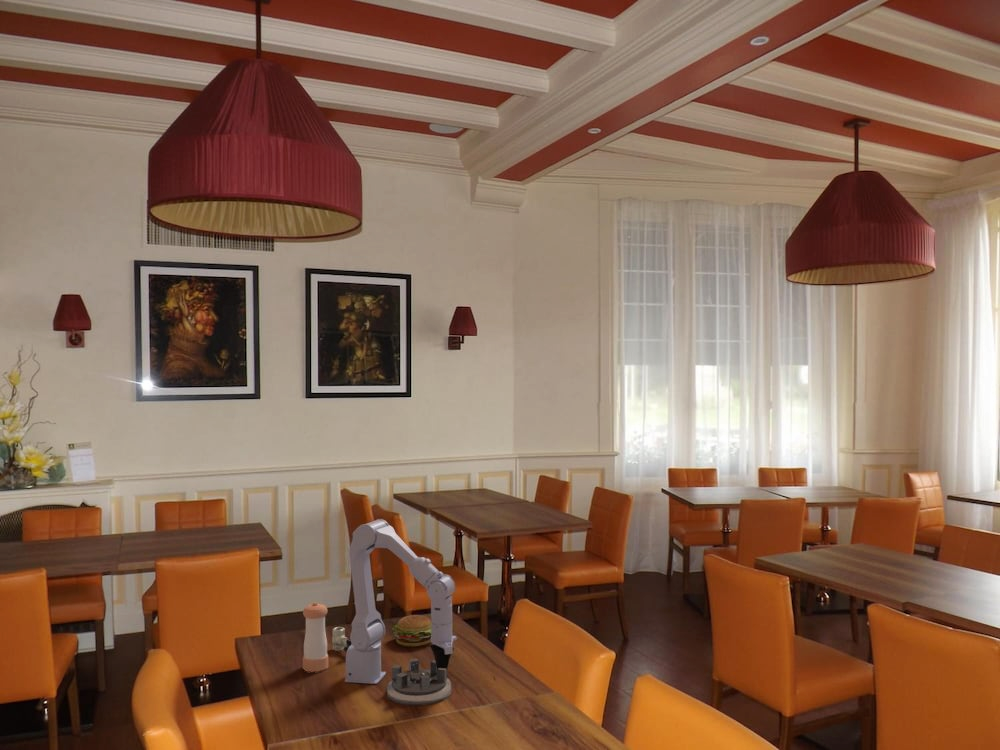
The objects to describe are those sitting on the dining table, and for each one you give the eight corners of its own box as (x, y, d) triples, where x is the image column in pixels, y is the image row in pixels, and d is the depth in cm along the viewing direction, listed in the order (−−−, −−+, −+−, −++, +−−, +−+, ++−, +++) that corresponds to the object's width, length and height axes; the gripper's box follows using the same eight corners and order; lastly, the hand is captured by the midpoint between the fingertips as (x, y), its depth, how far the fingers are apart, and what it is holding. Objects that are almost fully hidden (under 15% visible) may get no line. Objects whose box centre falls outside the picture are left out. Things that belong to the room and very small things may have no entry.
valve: (326, 650, 238) (345, 661, 229) (325, 629, 238) (345, 638, 229) (344, 645, 242) (364, 655, 233) (344, 624, 242) (364, 634, 233)
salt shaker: (297, 670, 221) (297, 604, 221) (312, 662, 227) (312, 597, 228) (318, 674, 218) (318, 606, 218) (333, 665, 225) (333, 600, 225)
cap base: (378, 703, 198) (378, 694, 198) (398, 678, 214) (398, 670, 214) (441, 707, 195) (441, 699, 195) (457, 682, 211) (457, 674, 211)
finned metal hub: (384, 692, 199) (384, 675, 199) (401, 671, 213) (401, 656, 213) (438, 696, 196) (438, 679, 196) (452, 675, 210) (452, 659, 210)
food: (400, 651, 236) (400, 625, 236) (388, 638, 249) (388, 613, 249) (442, 645, 241) (442, 620, 241) (428, 632, 254) (428, 608, 254)
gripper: (463, 628, 201) (463, 679, 201) (448, 612, 215) (449, 661, 215) (437, 631, 199) (438, 683, 199) (424, 615, 213) (424, 664, 212)
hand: (442, 672), depth 207 cm, fingers closed
